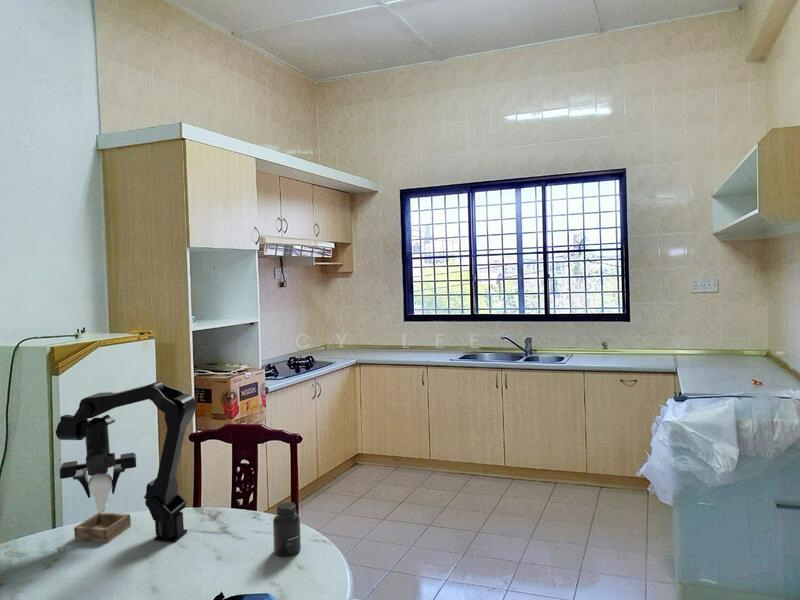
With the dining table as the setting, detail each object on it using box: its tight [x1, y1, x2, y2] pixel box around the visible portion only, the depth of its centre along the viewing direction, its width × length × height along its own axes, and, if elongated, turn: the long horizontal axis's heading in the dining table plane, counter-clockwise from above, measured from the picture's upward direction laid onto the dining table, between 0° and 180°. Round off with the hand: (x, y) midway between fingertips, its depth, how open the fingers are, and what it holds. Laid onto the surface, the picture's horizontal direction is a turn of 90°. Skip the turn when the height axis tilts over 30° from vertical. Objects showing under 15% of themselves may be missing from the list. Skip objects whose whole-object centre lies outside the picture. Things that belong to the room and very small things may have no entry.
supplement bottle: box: [272, 501, 302, 557], centre depth 159 cm, size 7×7×12 cm
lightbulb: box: [88, 472, 113, 513], centre depth 171 cm, size 6×6×11 cm
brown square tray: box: [73, 511, 132, 544], centre depth 172 cm, size 10×10×4 cm
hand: (101, 495), depth 172 cm, fingers closed on lightbulb, 5 cm apart
